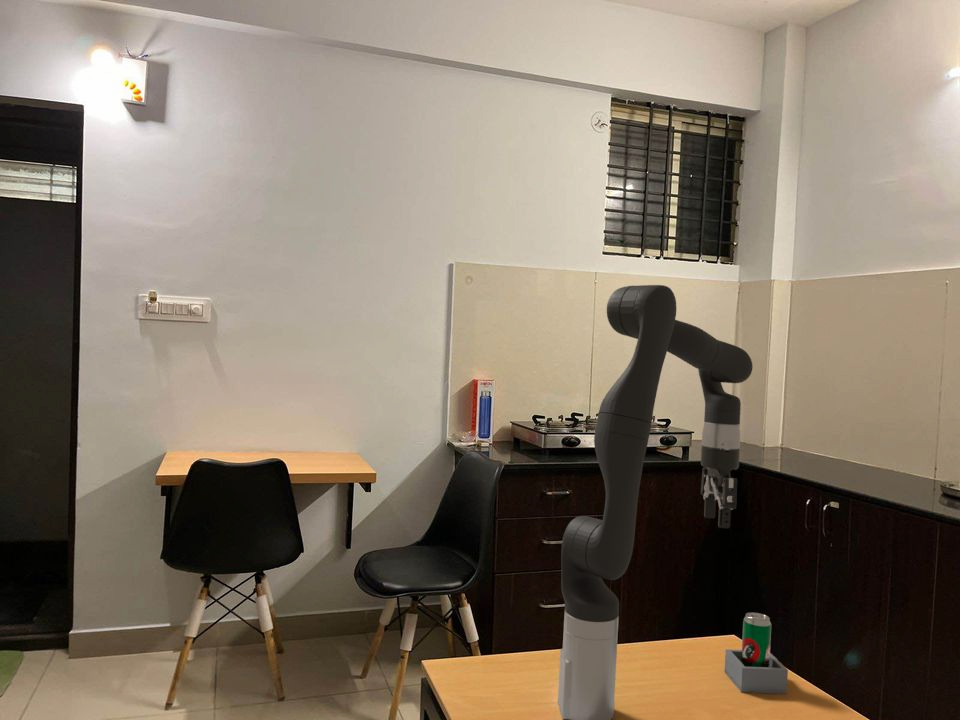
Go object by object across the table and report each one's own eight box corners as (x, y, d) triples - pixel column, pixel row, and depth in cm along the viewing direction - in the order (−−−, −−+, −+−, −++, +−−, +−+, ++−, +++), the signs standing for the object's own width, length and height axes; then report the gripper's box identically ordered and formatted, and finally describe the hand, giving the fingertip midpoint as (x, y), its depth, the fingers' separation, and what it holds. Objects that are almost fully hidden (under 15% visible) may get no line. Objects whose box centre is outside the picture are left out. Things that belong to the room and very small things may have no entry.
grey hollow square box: (741, 692, 135) (742, 668, 135) (724, 671, 144) (725, 649, 144) (786, 693, 136) (787, 670, 136) (767, 673, 144) (768, 650, 144)
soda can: (770, 685, 137) (774, 622, 137) (742, 682, 138) (745, 619, 138) (765, 674, 142) (769, 613, 142) (738, 670, 143) (742, 610, 143)
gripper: (691, 439, 157) (687, 514, 157) (714, 448, 143) (710, 530, 143) (726, 441, 157) (722, 515, 158) (752, 450, 143) (747, 532, 143)
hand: (716, 522), depth 150 cm, fingers open, 8 cm apart
